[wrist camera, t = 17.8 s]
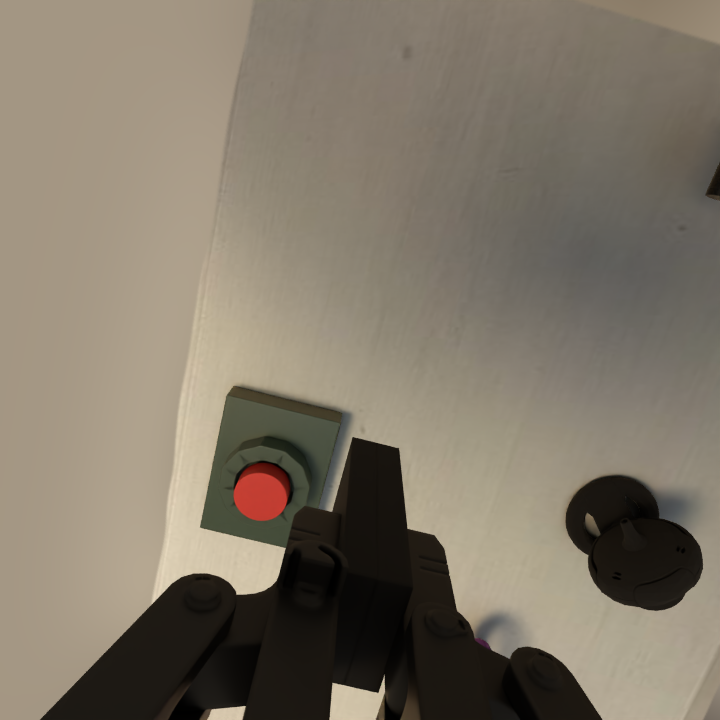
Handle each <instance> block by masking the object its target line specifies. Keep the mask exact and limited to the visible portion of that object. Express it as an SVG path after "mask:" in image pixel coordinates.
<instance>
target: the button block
mask: <svg viewBox="0 0 720 720" xmlns="http://www.w3.org/2000/svg"><path fill="white" fill-rule="evenodd" d="M341 417H342V413H340V412H336V411H332V410H328V409H324V408H320V407H315V406H311V405H307V404H303V403H299V402H295V401H291V400H287V399H283V398H279V397H275V396H271V395H267V394H263V393H259V392H255V391H251V390H247V389H243V388H239V387H235V386H233V388H232V389H231V390H230V392H229V393H228V394H227V396H226V401H225V406H224V411H223V416H222V421H221V426H220V431H219V436H218V441H217V446H216V451H215V456H214V461H213V466H212V471H211V476H210V481H209V486H208V490H207V495H206V500H205V505H204V510H203V515H202V520H201V525H200V528H204V529H208V530H212V531H216V532H221V533H225V534H229V535H233V536H237V537H242V538H246V539H250V540H254V541H259V542H263V543H267V544H271V545H276V546H280V547H284V548H286V546H287V542H288V538H289V534H290V530H291V526H292V522H293V518H294V514H296V513H297V512H298V511H299V510H300V509H301V508H303V507H304V506H308V507H313V508H317V509H318V506H319V503H320V499H321V495H322V491H323V488H324V484H325V480H326V476H327V473H328V469H329V465H330V461H331V457H332V454H333V450H334V446H335V442H336V439H337V435H338V431H339V427H340V424H341ZM256 463H270V464H273V465H276V466H277V467H279V468H280V469H282V470H283V471H284V472H285V474H286V475H287V477H288V479H289V482H290V493H289V497H288V500H287V504H286V506H285V508H284V510H283V511H282V513H281V514H279V515H278V516H277V517H275V518H273V519H270V520H266V521H258V520H253V519H251V518H248V517H247V516H245V515H244V514H242V513H241V512H240V510H239V509H238V508H237V506H236V504H235V501H234V489H235V487H236V484H237V482H238V480H239V478H240V476H241V474H242V473H243V471H244V470H245V469H246V468H248V467H249V466H251V465H253V464H256Z"/></svg>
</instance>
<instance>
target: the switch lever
mask: <svg viewBox="0 0 720 720" xmlns="http://www.w3.org/2000/svg"><path fill="white" fill-rule="evenodd" d="M706 196H707V197H709V198H712V199H715V200H719V201H720V163H719V165H718V167H717V169H716V172H715V174H714V176H713V178H712V181H711V183H710V185H709V187H708V189H707V192H706Z"/></svg>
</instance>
